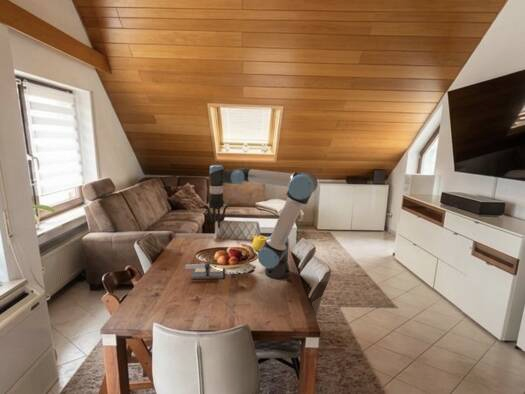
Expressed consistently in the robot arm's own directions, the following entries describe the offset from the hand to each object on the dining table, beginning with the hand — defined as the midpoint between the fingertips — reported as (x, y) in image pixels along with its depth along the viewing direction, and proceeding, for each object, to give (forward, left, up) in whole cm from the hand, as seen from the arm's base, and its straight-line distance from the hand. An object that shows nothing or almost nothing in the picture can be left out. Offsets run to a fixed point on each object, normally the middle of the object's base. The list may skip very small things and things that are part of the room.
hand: (216, 233), depth 177 cm
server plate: (+5, +1, -24) cm, 25 cm away
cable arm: (+10, +7, -18) cm, 22 cm away
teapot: (-29, -36, -25) cm, 53 cm away
